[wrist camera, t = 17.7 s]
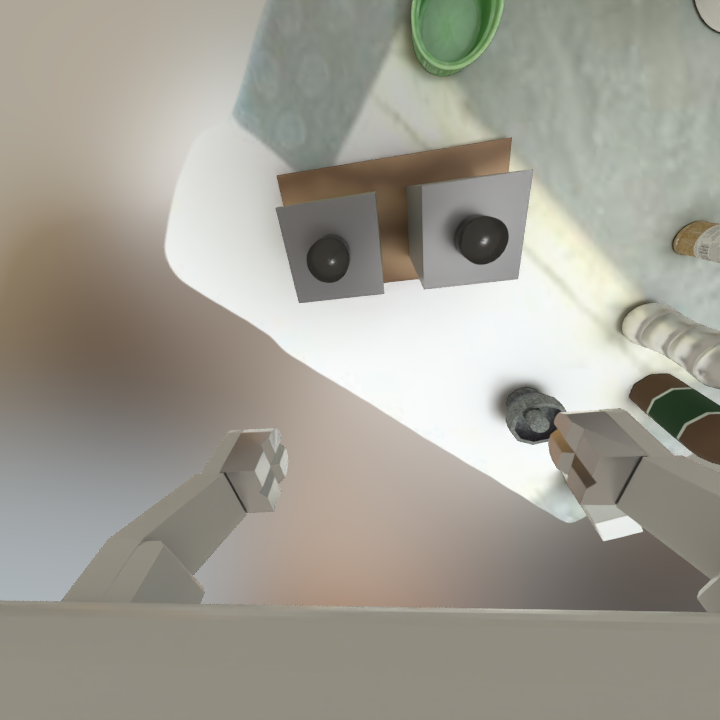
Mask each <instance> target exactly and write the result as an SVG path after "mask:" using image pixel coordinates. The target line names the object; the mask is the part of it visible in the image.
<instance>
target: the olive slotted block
mask: <svg viewBox="0 0 720 720" xmlns="http://www.w3.org/2000/svg"><path fill="white" fill-rule="evenodd" d="M276 211H277V215H278V220H279V224H280V228H281V232H282V236H283V240H284V244H285V248H286V252H287V256H288V260H289V264H290V269H291V273H292V277H293V281H294V285H295V289H296V293H297V297H298V301H299V303H305V302H314V301H323V300H332V299H341V298H350V297H359V296H368V295H377V294H384V281H383V262H382V250H381V239H380V227H379V216H378V205H377V194H376V191H373V192H366V193H360V194H353V195H346V196H340V197H333V198H326V199H320V200H313V201H308V202H303V203H298V204H293V205H288V206H283V207H278V208H276ZM329 234H333V235H337V236H340V237H342V238H343V239H344V240H345V241H346V242H347V243H348V245H349V247H350V250H351V261H350V264H349V267H348V269H347V272H346V274H345V275H344V276H343V277H342V278H341V279H340V280H338V281H336V282H333V283H325V282H321V281H319V280H317V279H316V278H315V277H314V276H313V275H312V274H311V273H310V271H309V269H308V266H307V253H308V251H309V249H310V247H311V246H312V245H313V244H314V243H315V242H316V241H317V240H319V239H320V238H321V237H323V236H325V235H329Z"/></svg>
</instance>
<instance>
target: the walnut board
mask: <svg viewBox="0 0 720 720" xmlns="http://www.w3.org/2000/svg"><path fill="white" fill-rule="evenodd" d="M511 142H512V137H511V138H505V139H499V140H493V141H487V142H480V143H474V144H468V145H462V146H456V147H450V148H443V149H437V150H431V151H425V152H419V153H413V154H406V155H400V156H394V157H388V158H382V159H376V160H370V161H363V162H357V163H351V164H345V165H339V166H333V167H326V168H320V169H314V170H308V171H302V172H296V173H289V174H283V175H277V179H278V183H279V188H280V192H281V196H282V201H283V205H284V206H288V205H293V204H298V203H303V202H308V201H313V200H320V199H326V198H333V197H340V196H346V195H353V194H360V193H366V192H373V191H376V194H377V205H378V216H379V227H380V239H381V250H382V262H383V281H384V283H387V282H396V281H404V280H413V279H419V277H418V275H417V273H416V270H415V268H414V266H413V264H412V261H411V259H410V257H409V239H408V216H407V194H406V186H413V185H419V184H426V183H433V182H439V181H446V180H453V179H459V178H466V177H473V176H480V175H489V174H498V173H507V172H508V170H509V161H510V151H511Z"/></svg>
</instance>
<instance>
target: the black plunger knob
mask: <svg viewBox="0 0 720 720" xmlns="http://www.w3.org/2000/svg"><path fill="white" fill-rule="evenodd" d="M350 261H351V250H350V247H349V245H348V243H347V242H346V241H345V240H344V239H343V238H342V237H340V236H337V235H333V234H329V235H325V236H323V237H321V238H320V239H319V240H317V241H316V242H315V243H314V244H313V245H312V246H311V247H310V249H309V251H308V253H307V266H308V269H309V271H310V273H311V274H312V275H313V276H314V277H315V278H316V279H317V280H319V281H321V282H325V283H333V282H336V281H338V280H340V279H341V278H342V277H343V276H344V275H345V274H346V272H347V269H348V267H349V264H350Z"/></svg>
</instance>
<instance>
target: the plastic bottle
mask: <svg viewBox="0 0 720 720" xmlns="http://www.w3.org/2000/svg"><path fill="white" fill-rule="evenodd" d="M622 331H623V334H624V335H625V336H626V337H627V338H628V339H629V340H630V341H631V342H633V343H635V344H638V345H640V346H643V347H646V348H649V349H652V350H654V351H656V352H658V353H660V354H662V355H665V356H666V357H668V358H669V359H671V360H672V361H674V362H675V363H677V364H678V365H680V366H681V367H683V368H684V369H685V370H686V371H687V372H689V373H690V374H691V375H692V376H694V377H695V378H696V379H697V380H699V381H700V382H701V383H703V384H704V385H706V386H709V387H713V388H716V389H720V331H718V330H715V329H712V328H709V327H706V326H704V325H701V324H698V323H696V322H695V321H693V320H691V319H689V318H687V317H685V316H683V315H682V314H681V313H679V312H678V311H677V310H675V309H673V308H672V307H670V306H668V305H664V304H659V303H648V304H644V305H641V306H638V307H636V308H634V309H633V310H632V311H630V312H629V313H628V314H627V315H626V317H625V318H624V320H623V323H622Z"/></svg>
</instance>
